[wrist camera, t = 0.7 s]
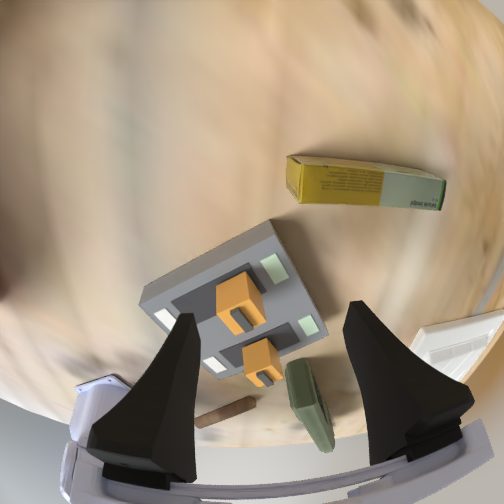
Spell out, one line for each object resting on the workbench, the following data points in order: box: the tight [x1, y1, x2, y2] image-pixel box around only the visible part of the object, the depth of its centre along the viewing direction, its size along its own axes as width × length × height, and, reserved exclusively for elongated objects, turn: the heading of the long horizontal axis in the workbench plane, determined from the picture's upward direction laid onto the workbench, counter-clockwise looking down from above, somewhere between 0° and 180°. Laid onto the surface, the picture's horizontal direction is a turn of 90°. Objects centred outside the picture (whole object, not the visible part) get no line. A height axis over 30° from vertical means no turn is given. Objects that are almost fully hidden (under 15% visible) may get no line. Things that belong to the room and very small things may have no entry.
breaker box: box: [139, 220, 329, 380], centre depth 24 cm, size 12×12×3 cm
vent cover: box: [409, 309, 504, 382], centre depth 36 cm, size 23×3×21 cm
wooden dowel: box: [194, 396, 256, 428], centre depth 34 cm, size 10×2×2 cm
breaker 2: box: [242, 338, 284, 387], centre depth 23 cm, size 2×2×3 cm
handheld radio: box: [285, 358, 335, 453], centre depth 34 cm, size 7×3×25 cm
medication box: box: [286, 155, 446, 211], centre depth 19 cm, size 12×3×4 cm, turn 88°
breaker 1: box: [216, 271, 267, 336], centre depth 19 cm, size 2×2×3 cm
